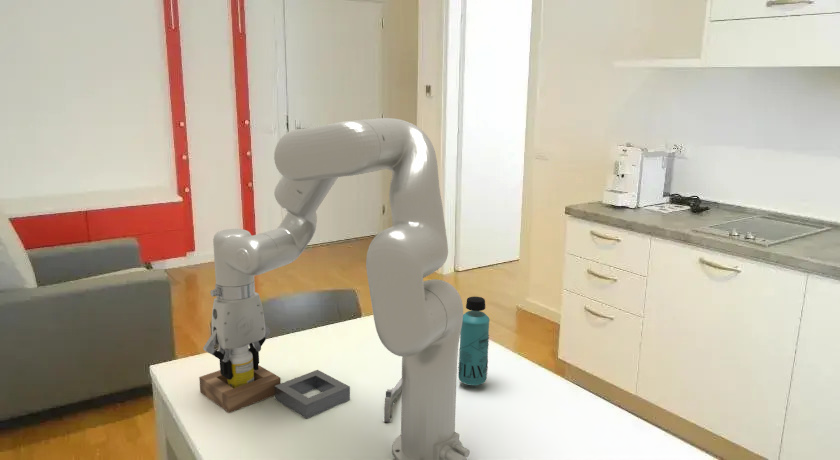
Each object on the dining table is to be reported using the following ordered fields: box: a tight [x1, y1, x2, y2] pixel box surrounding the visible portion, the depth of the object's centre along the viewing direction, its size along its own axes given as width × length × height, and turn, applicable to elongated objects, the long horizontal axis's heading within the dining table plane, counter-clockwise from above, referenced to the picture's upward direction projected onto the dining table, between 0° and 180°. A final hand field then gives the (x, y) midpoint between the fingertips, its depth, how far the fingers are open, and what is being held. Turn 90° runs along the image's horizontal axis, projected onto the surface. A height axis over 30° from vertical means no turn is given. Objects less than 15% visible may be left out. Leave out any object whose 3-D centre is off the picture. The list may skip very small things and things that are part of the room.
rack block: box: [198, 364, 282, 414], centre depth 131 cm, size 12×12×4 cm
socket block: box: [274, 369, 351, 420], centre depth 129 cm, size 11×11×3 cm
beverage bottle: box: [457, 296, 491, 386], centre depth 135 cm, size 6×7×20 cm
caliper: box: [383, 377, 402, 423], centre depth 130 cm, size 20×1×6 cm, turn 170°
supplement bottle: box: [227, 344, 254, 388], centre depth 130 cm, size 5×5×10 cm
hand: (240, 371), depth 131 cm, fingers closed on supplement bottle, 5 cm apart
